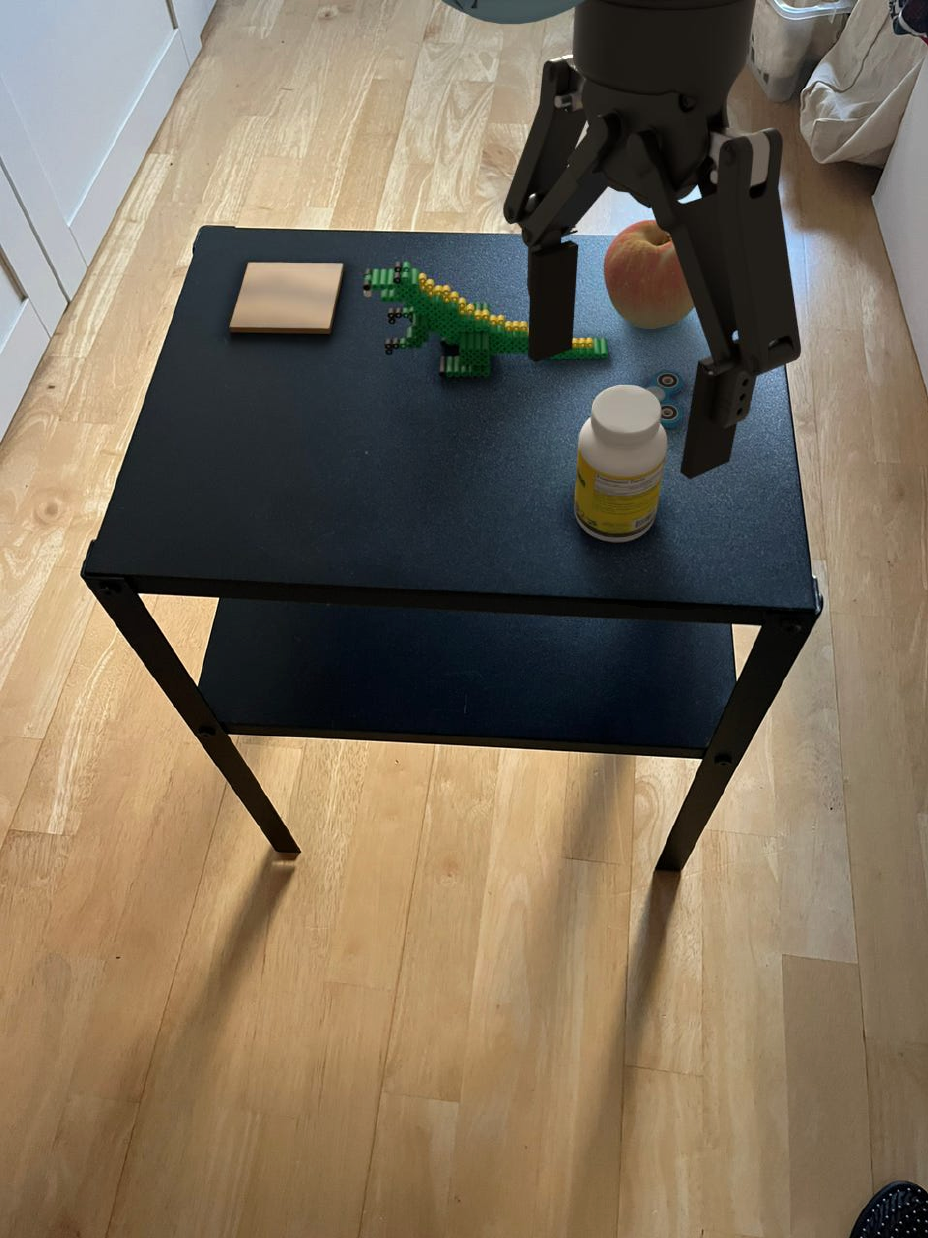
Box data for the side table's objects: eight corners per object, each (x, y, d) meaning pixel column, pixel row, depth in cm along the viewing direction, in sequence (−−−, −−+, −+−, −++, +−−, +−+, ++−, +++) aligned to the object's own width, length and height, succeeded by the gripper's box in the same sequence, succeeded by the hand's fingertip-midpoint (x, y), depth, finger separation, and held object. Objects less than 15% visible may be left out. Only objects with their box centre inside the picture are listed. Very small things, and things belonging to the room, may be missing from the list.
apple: (609, 350, 89) (617, 272, 82) (592, 284, 94) (598, 205, 87) (710, 340, 89) (726, 261, 82) (688, 274, 94) (701, 195, 87)
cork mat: (330, 333, 92) (329, 328, 91) (230, 332, 92) (229, 326, 92) (344, 268, 97) (343, 263, 96) (249, 267, 97) (248, 262, 97)
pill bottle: (582, 476, 81) (590, 369, 72) (661, 490, 80) (680, 383, 71) (565, 537, 78) (571, 432, 69) (647, 553, 77) (665, 448, 67)
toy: (613, 373, 87) (614, 364, 86) (681, 377, 87) (683, 368, 86) (610, 426, 84) (611, 417, 83) (681, 430, 83) (682, 421, 82)
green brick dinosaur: (605, 328, 91) (613, 241, 83) (609, 374, 87) (617, 288, 80) (377, 332, 92) (365, 247, 84) (372, 378, 88) (359, 293, 81)
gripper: (980, 24, 37) (839, 498, 52) (561, -97, 52) (545, 297, 67) (830, 65, 34) (726, 553, 49) (432, -75, 49) (446, 331, 64)
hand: (621, 406), depth 58 cm, fingers open, 13 cm apart
